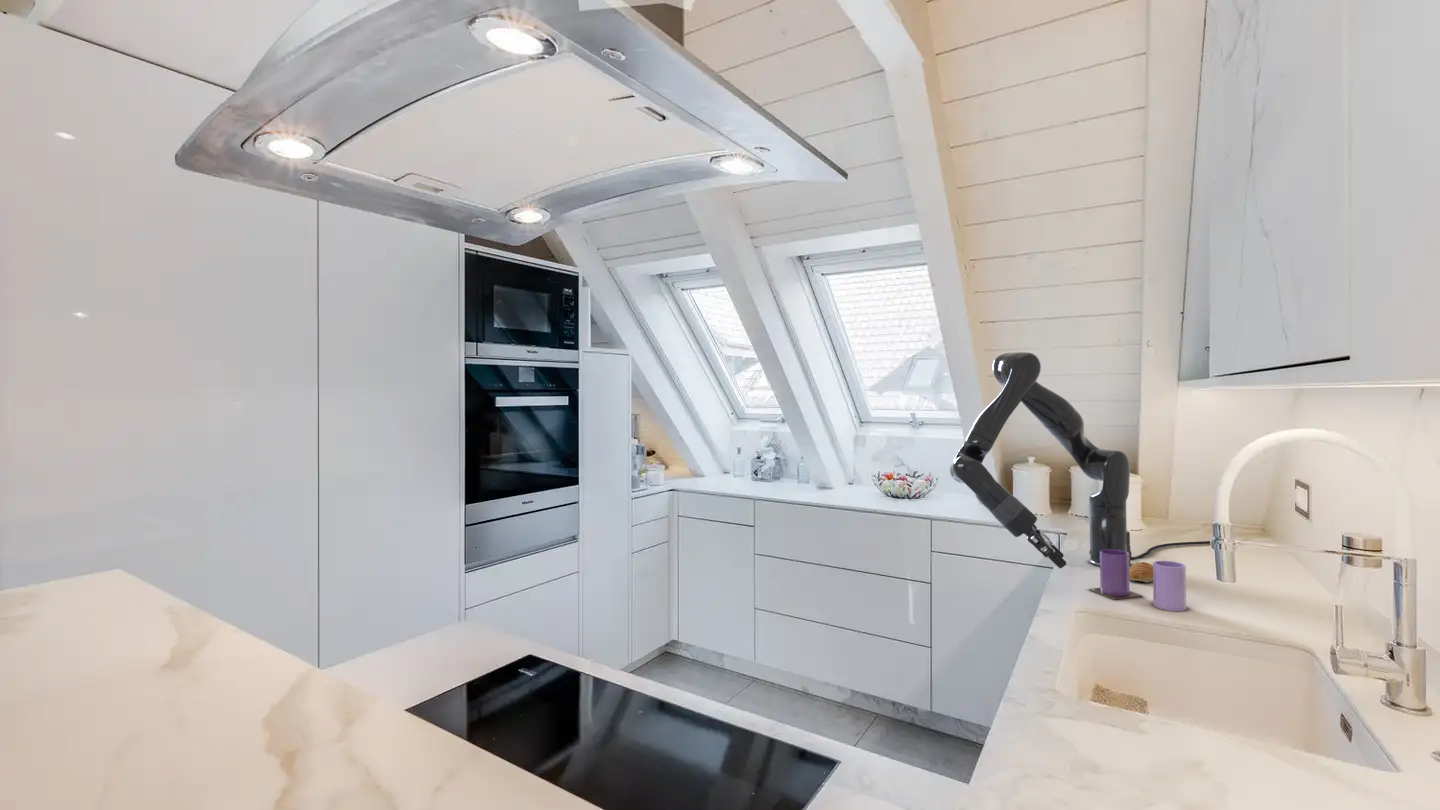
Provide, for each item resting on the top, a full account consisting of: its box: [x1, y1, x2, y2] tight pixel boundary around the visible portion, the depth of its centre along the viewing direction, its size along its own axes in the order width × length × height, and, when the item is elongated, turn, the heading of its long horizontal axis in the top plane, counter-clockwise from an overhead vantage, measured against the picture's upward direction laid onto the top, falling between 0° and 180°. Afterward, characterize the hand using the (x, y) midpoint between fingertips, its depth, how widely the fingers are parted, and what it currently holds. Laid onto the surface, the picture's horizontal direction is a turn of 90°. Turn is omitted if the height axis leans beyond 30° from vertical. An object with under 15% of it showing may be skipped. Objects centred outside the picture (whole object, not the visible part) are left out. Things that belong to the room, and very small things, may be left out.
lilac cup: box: [1152, 560, 1187, 612], centre depth 151 cm, size 6×6×10 cm
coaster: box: [1089, 587, 1143, 601], centre depth 162 cm, size 8×8×1 cm
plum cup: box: [1099, 549, 1131, 596], centre depth 161 cm, size 6×6×10 cm
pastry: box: [1129, 561, 1153, 584], centre depth 173 cm, size 9×7×4 cm
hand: (1062, 561), depth 166 cm, fingers open, 8 cm apart
